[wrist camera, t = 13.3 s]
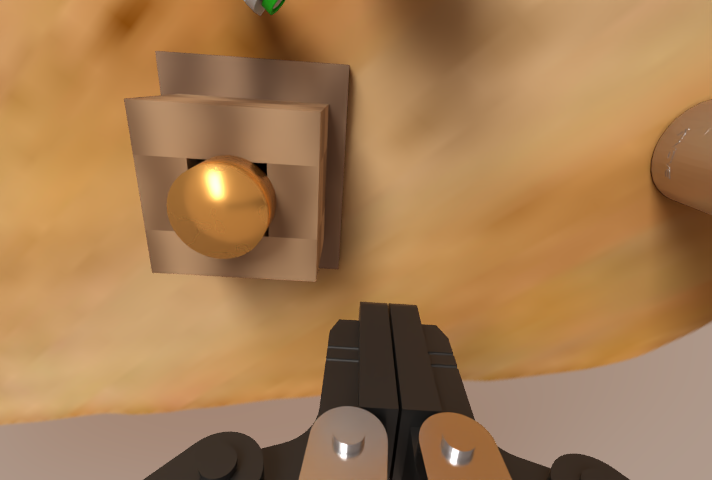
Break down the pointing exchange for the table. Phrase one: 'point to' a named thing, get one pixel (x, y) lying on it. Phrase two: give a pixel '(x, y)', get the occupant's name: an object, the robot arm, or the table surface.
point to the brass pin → (222, 206)
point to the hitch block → (246, 155)
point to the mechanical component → (264, 6)
